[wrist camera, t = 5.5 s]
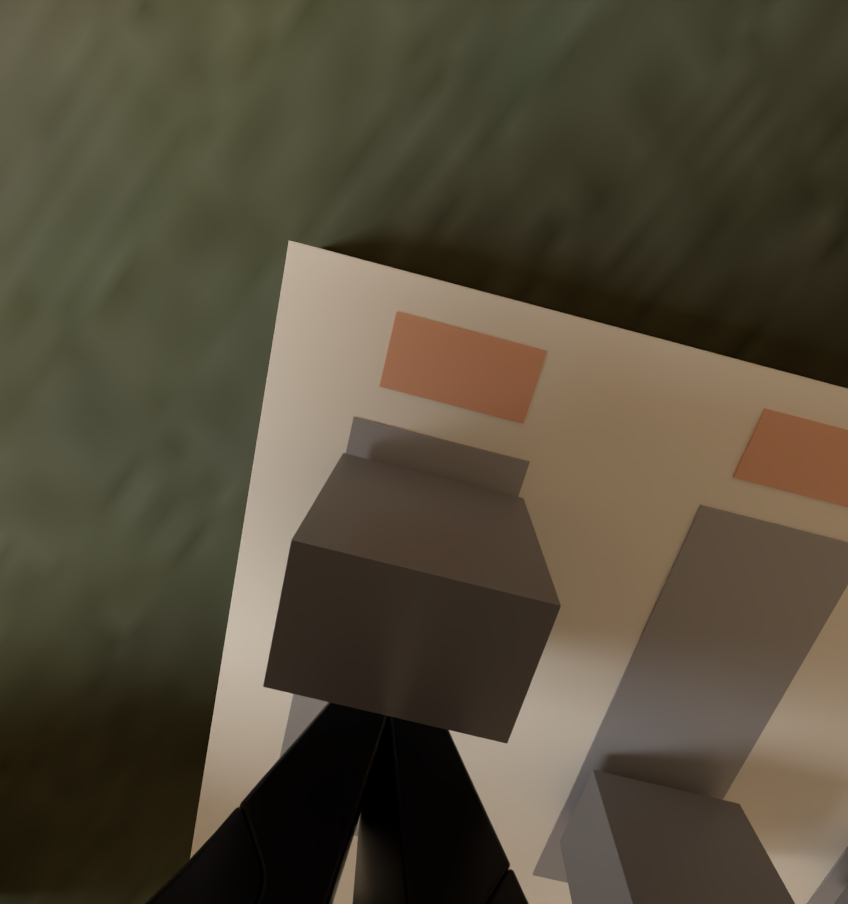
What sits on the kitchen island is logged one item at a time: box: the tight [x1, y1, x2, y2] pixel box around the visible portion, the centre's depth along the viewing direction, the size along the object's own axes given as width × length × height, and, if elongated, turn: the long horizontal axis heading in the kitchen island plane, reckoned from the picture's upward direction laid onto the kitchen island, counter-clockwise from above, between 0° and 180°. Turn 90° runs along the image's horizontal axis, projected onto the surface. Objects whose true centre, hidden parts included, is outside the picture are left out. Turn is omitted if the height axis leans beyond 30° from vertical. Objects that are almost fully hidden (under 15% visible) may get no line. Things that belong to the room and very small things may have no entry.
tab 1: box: [263, 453, 561, 744], centre depth 7 cm, size 3×2×3 cm, turn 76°
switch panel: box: [190, 241, 848, 904], centre depth 11 cm, size 18×14×2 cm
